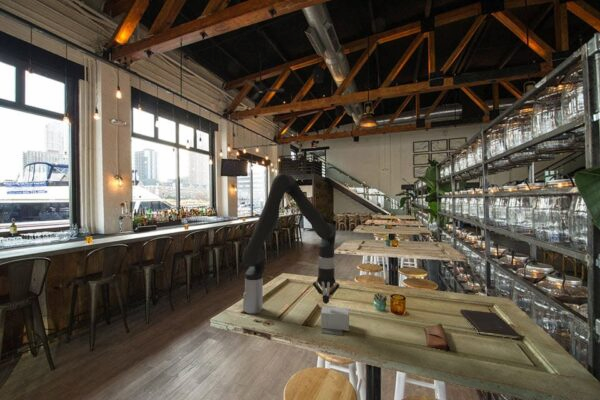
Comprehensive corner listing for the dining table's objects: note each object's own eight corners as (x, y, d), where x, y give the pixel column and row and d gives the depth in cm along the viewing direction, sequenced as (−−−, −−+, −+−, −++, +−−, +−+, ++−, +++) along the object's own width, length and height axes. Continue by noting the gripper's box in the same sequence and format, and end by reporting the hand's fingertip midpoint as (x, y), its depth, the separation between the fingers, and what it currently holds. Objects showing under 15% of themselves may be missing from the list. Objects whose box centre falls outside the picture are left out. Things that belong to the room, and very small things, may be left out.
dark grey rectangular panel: (321, 333, 114) (321, 332, 114) (325, 317, 129) (325, 317, 129) (342, 335, 113) (342, 334, 113) (343, 319, 127) (343, 318, 127)
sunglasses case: (422, 326, 121) (430, 315, 120) (436, 337, 119) (445, 326, 118) (426, 347, 104) (436, 335, 103) (443, 360, 102) (453, 347, 101)
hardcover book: (494, 317, 134) (495, 312, 134) (520, 341, 112) (520, 335, 112) (460, 313, 138) (460, 309, 138) (478, 335, 116) (478, 330, 116)
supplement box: (320, 328, 118) (348, 331, 115) (320, 312, 118) (349, 315, 115) (322, 320, 125) (349, 323, 123) (322, 305, 125) (349, 308, 123)
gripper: (311, 267, 118) (310, 305, 118) (340, 269, 116) (339, 307, 116) (313, 263, 126) (313, 298, 126) (340, 264, 123) (340, 301, 123)
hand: (326, 303), depth 121 cm, fingers closed
